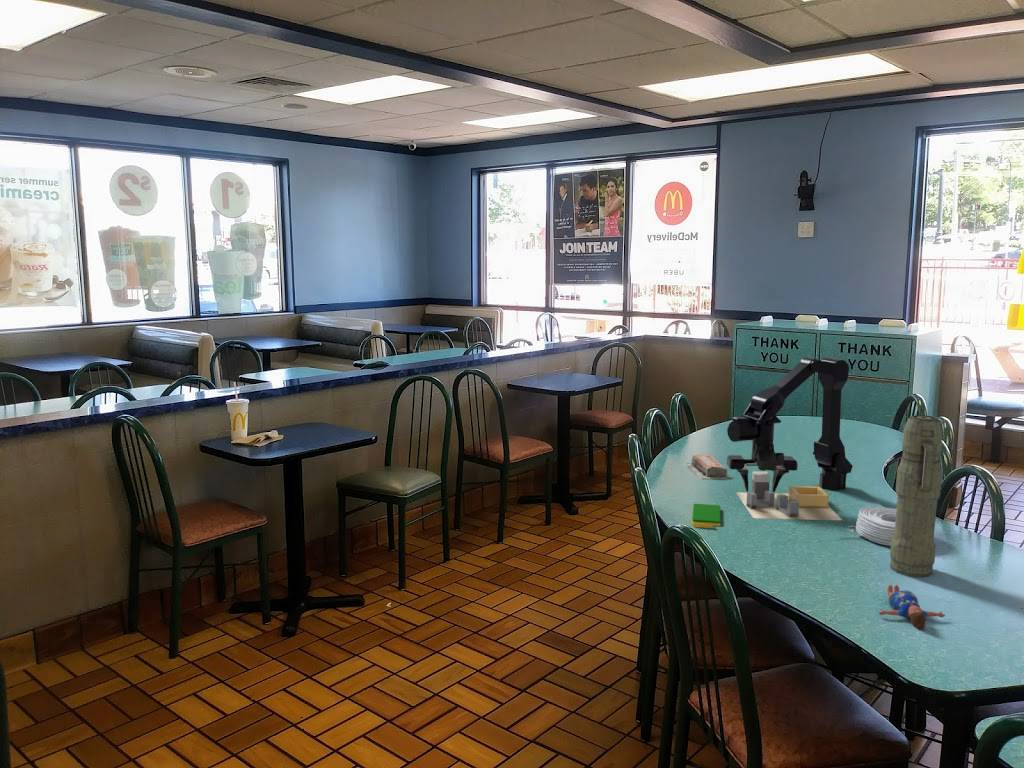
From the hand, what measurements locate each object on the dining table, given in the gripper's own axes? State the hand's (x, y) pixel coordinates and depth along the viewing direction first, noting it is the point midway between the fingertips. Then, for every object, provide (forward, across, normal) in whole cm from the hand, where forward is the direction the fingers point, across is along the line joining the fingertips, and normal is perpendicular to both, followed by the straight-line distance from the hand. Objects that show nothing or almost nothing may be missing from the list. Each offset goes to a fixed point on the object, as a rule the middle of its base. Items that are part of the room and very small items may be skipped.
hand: (760, 491), depth 232 cm
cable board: (+2, +6, -8) cm, 10 cm away
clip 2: (+2, +4, -14) cm, 15 cm away
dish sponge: (+3, -18, -18) cm, 26 cm away
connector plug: (+2, 0, 0) cm, 2 cm away
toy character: (+3, +12, -73) cm, 74 cm away
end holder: (+2, +12, -5) cm, 13 cm away
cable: (+3, +26, -29) cm, 39 cm away
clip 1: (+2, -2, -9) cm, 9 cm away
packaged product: (+3, -10, +27) cm, 29 cm away
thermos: (+2, +22, -50) cm, 55 cm away
